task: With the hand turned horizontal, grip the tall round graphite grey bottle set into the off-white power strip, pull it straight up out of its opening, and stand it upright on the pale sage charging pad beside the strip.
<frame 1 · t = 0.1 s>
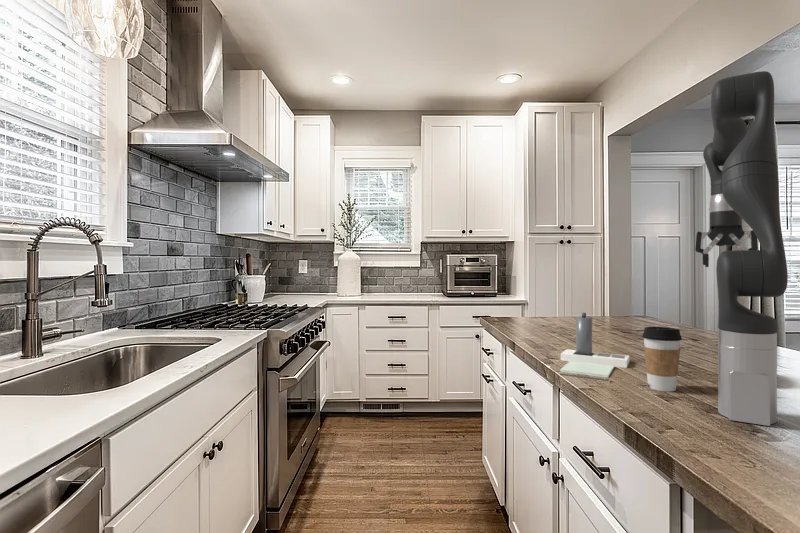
hand: (725, 267, 125), 29 cm above the worktop, tool pointing down, fingers open, 8 cm apart
grey bottle: (584, 360, 134), point 1 cm above the worktop, touching power strip
charging pad: (587, 373, 122), on the worktop
power strip: (594, 364, 132), on the worktop
coffee cup: (661, 388, 107), on the worktop
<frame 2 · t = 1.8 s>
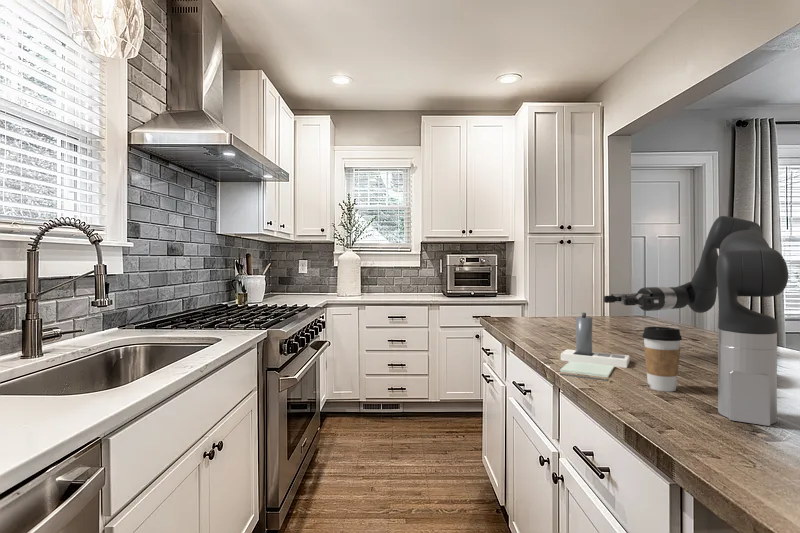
hand: (614, 300, 136), 19 cm above the worktop, tool horizontal, fingers open, 8 cm apart
nothing on the worktop moved.
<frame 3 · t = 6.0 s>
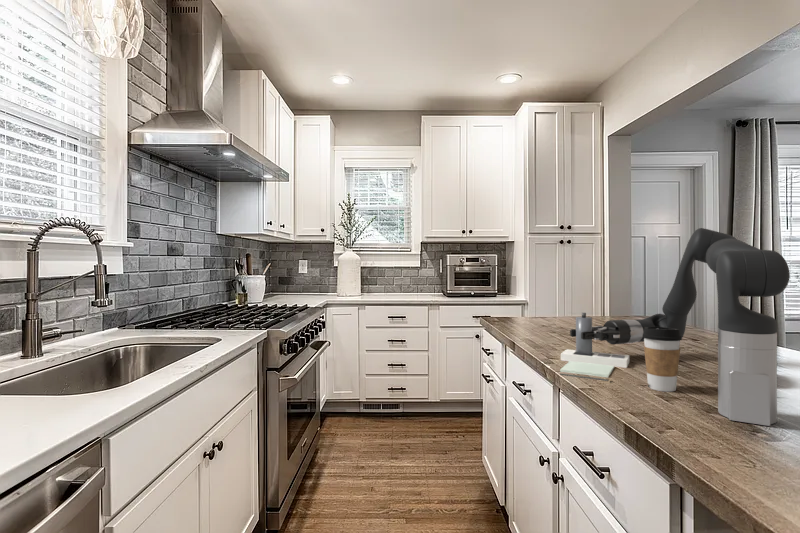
hand: (576, 334, 133), 9 cm above the worktop, tool horizontal, fingers closed on grey bottle, 4 cm apart
grey bottle: (584, 360, 134), point 1 cm above the worktop, touching gripper, power strip
everything else where it was.
when the fingers open (11 cm above the worktop, at t = 11.4 s): grey bottle drops 1 cm, resting on charging pad.
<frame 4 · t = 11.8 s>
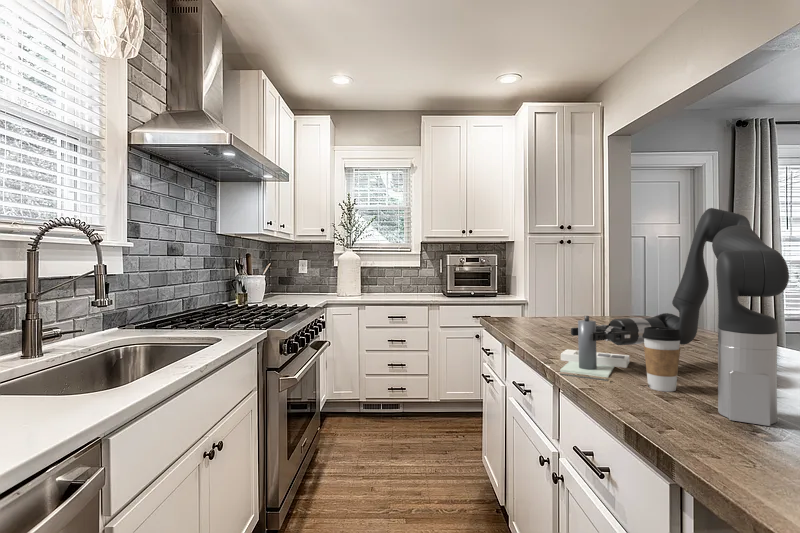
hand: (581, 334, 121), 11 cm above the worktop, tool horizontal, fingers open, 8 cm apart
grey bottle: (587, 367, 122), point 2 cm above the worktop, touching charging pad
everything else where it was.
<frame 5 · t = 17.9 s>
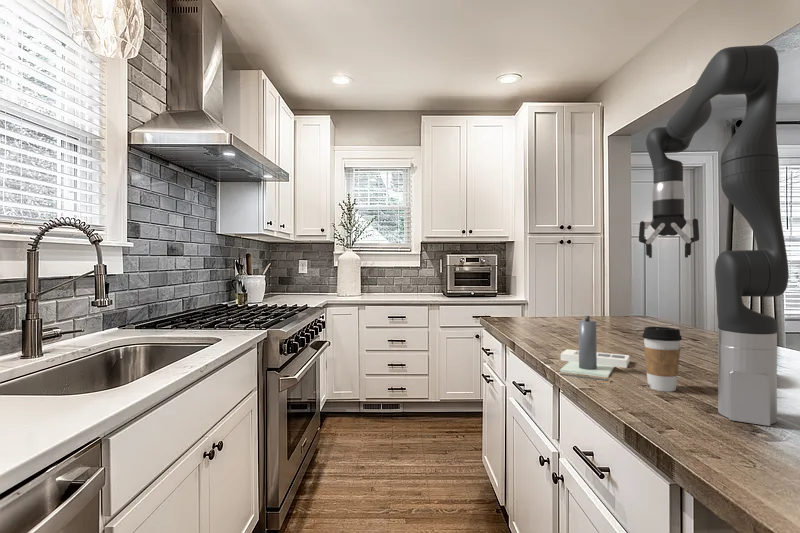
hand: (668, 257, 121), 32 cm above the worktop, tool pointing down, fingers open, 8 cm apart
nothing on the worktop moved.
at the end: grey bottle inside the target area on the charging pad (0.1 cm from its centre), point 1.5 cm above the charging pad's base; grey bottle tilted 0°; the gripper is holding nothing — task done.
